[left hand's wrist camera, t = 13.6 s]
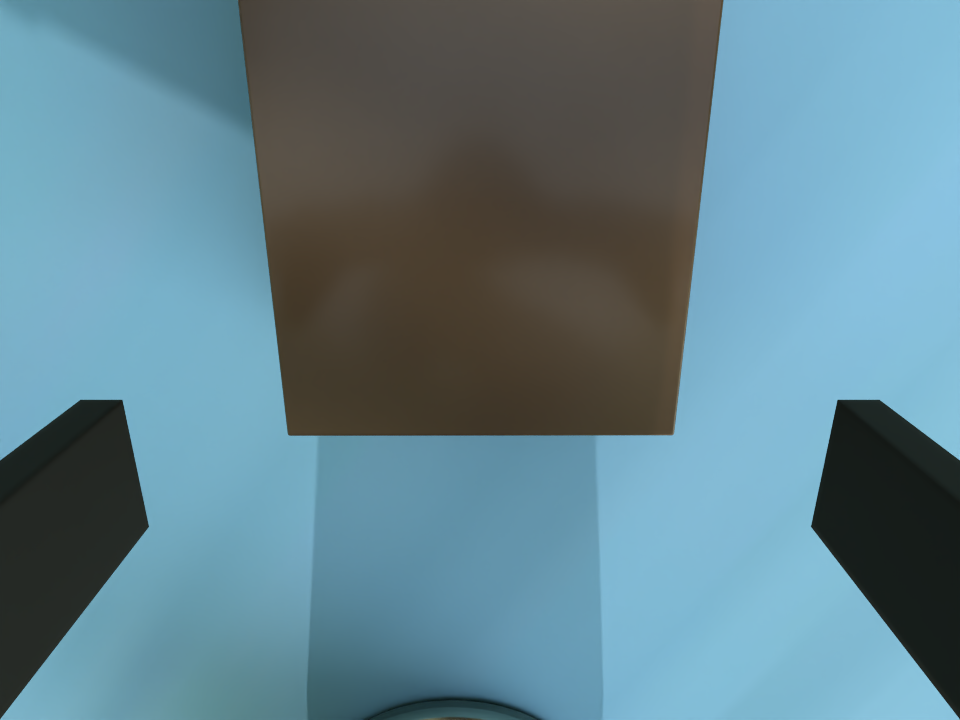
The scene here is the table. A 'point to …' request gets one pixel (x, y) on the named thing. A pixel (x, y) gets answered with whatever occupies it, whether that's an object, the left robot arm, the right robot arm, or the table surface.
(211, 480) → the table surface
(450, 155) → the brown wooden slab
